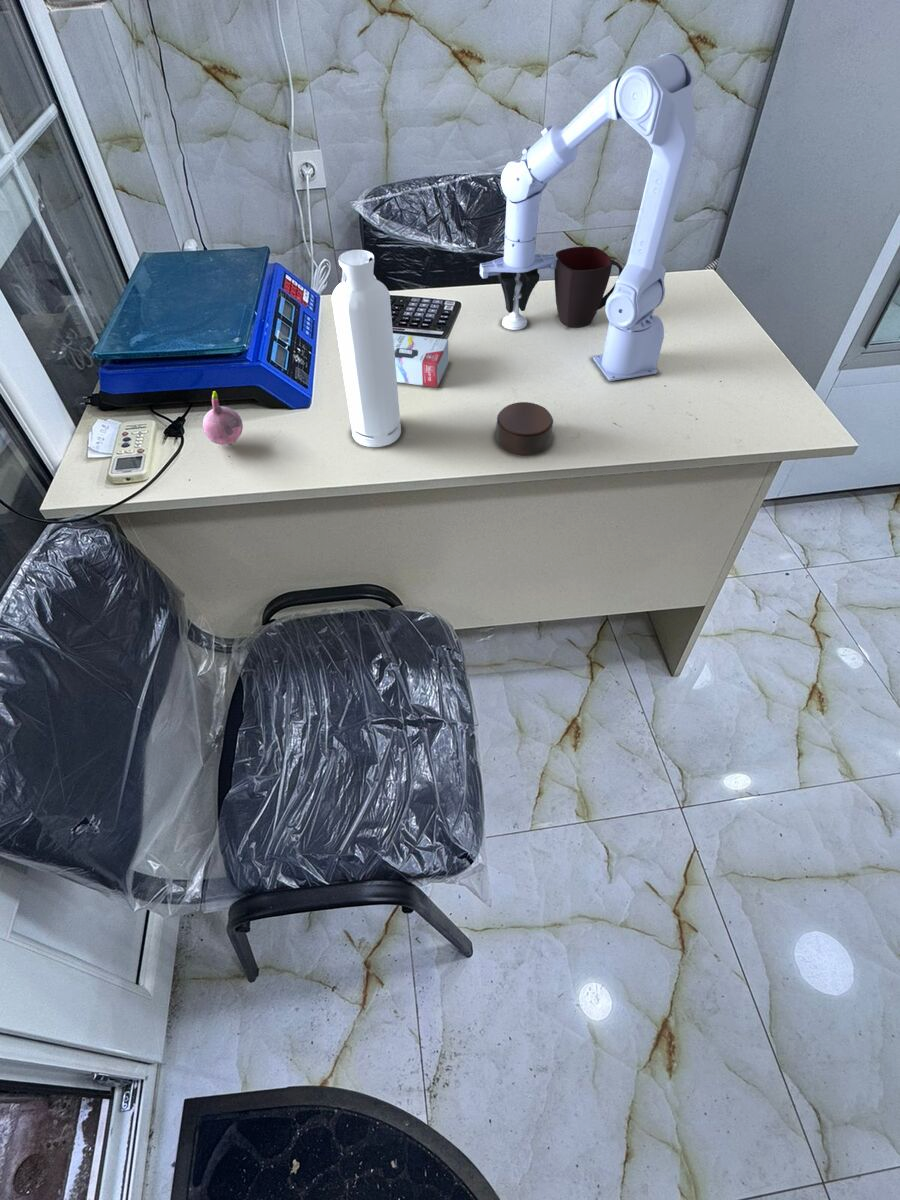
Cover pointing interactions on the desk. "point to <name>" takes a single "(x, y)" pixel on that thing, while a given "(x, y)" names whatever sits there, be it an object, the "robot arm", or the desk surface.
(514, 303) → the chess piece
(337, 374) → the desk surface
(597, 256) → the cup
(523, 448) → the stand
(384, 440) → the bottle
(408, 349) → the ink box
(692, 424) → the desk surface
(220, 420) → the vegetable
